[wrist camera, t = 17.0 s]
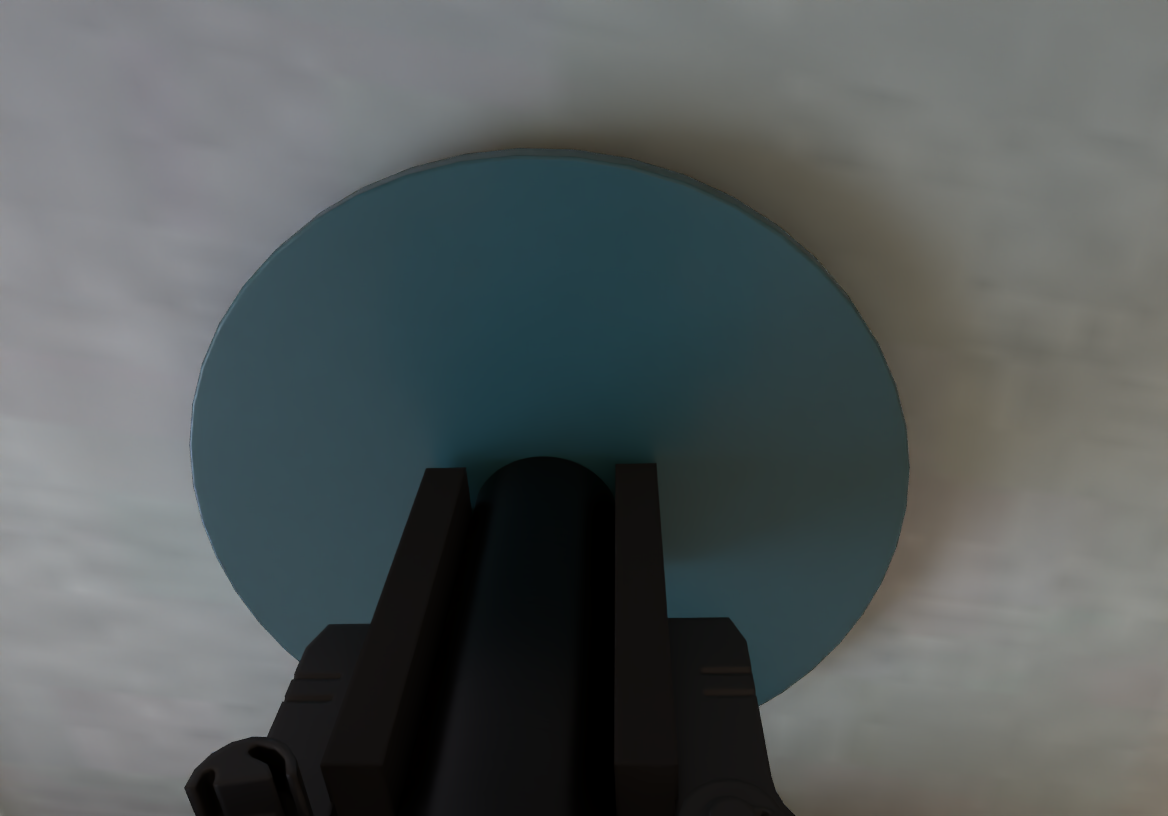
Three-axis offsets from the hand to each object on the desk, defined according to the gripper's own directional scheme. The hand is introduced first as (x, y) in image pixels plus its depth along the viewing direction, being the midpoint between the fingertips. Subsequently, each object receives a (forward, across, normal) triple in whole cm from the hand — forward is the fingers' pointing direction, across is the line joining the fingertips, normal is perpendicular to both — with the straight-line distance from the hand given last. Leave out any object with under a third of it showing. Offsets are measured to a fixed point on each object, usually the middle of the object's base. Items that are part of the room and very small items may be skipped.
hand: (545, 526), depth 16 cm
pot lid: (+1, 0, 0) cm, 1 cm away
